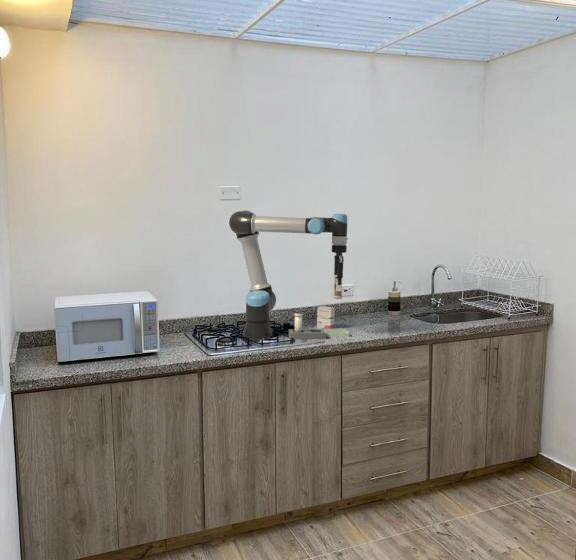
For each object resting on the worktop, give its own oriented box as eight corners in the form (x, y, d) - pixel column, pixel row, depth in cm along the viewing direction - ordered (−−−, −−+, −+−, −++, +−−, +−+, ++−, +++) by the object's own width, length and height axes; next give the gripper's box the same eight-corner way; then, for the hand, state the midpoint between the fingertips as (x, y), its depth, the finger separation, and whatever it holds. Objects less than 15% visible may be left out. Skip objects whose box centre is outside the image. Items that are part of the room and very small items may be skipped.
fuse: (294, 338, 302) (294, 314, 300) (293, 336, 306) (294, 312, 304) (302, 337, 302) (303, 314, 300) (301, 336, 306) (302, 312, 304)
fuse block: (290, 341, 299) (290, 333, 299) (288, 336, 308) (288, 329, 308) (325, 340, 301) (326, 333, 300) (323, 336, 310) (323, 329, 309)
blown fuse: (334, 298, 306) (335, 275, 304) (333, 297, 310) (333, 274, 308) (342, 298, 306) (343, 275, 304) (341, 297, 310) (341, 274, 309)
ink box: (334, 328, 329) (335, 307, 327) (330, 330, 325) (330, 308, 323) (320, 326, 334) (321, 305, 332) (316, 328, 329) (316, 306, 328)
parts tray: (326, 338, 306) (326, 333, 305) (323, 334, 315) (324, 329, 314) (349, 338, 307) (349, 333, 306) (346, 334, 316) (346, 329, 315)
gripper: (349, 246, 296) (348, 293, 299) (343, 243, 313) (342, 287, 316) (334, 245, 295) (333, 293, 299) (329, 243, 312) (328, 287, 316)
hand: (338, 290), depth 307 cm, fingers closed on blown fuse, 4 cm apart
